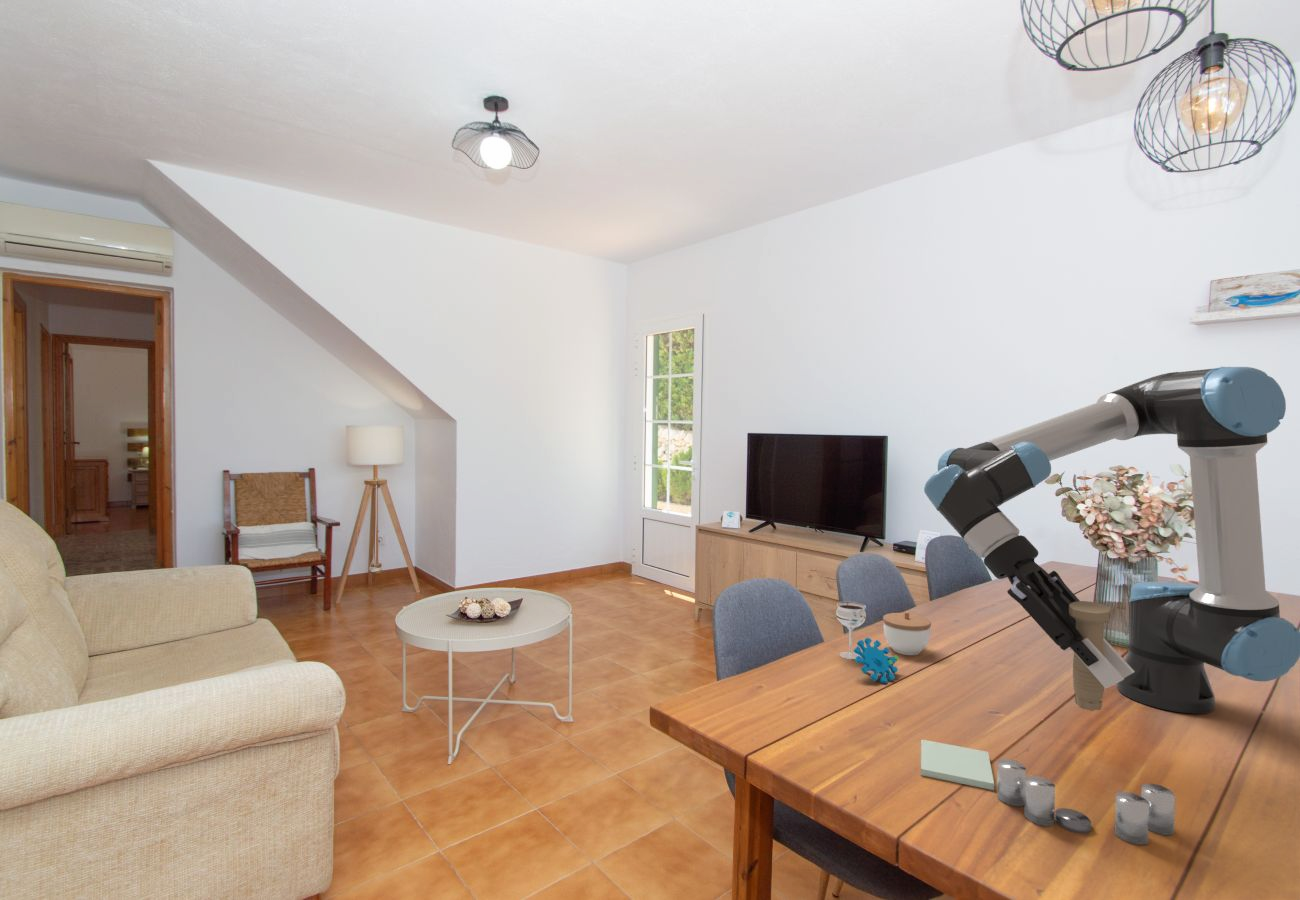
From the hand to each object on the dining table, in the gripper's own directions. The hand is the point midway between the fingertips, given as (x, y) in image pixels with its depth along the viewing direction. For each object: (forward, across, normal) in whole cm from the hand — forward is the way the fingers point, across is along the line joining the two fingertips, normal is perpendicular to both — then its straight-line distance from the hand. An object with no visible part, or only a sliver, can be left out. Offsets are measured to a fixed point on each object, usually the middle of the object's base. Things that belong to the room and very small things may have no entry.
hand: (1120, 680), depth 89 cm
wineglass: (-28, -18, -54) cm, 64 cm away
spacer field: (+12, +8, -14) cm, 20 cm away
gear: (-21, -12, -46) cm, 52 cm away
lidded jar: (-24, -32, -50) cm, 64 cm away
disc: (+12, +10, -14) cm, 21 cm away
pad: (-1, +9, -26) cm, 28 cm away
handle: (+1, 0, -7) cm, 7 cm away
